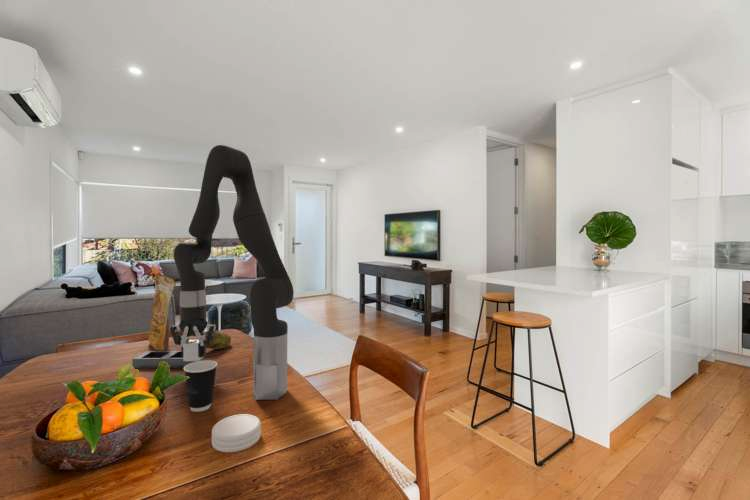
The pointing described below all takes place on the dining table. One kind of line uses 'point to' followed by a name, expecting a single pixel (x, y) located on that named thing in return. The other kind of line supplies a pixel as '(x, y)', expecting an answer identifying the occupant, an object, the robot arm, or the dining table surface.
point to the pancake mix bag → (161, 312)
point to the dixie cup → (200, 384)
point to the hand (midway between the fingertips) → (194, 356)
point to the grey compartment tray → (160, 359)
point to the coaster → (236, 433)
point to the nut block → (191, 350)
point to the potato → (218, 340)
